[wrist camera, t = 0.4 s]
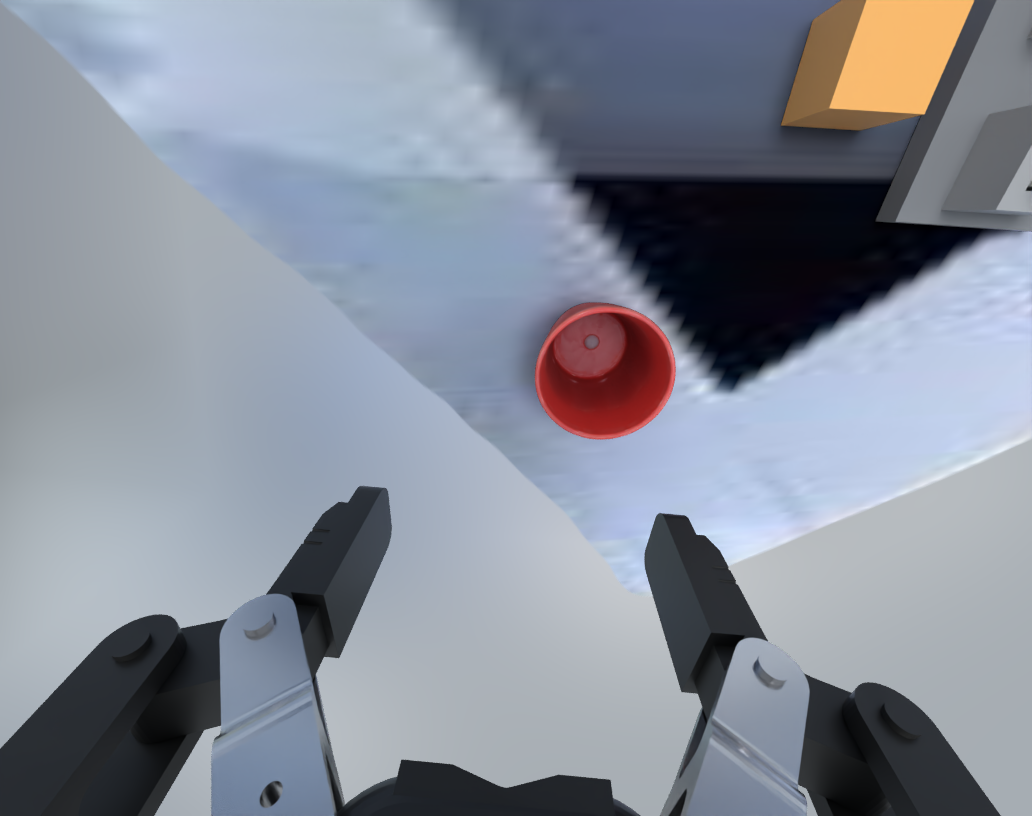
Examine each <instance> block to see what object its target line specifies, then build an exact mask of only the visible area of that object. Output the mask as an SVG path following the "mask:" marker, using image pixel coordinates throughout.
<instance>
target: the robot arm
mask: <svg viewBox="0 0 1032 816" xmlns="http://www.w3.org/2000/svg"><path fill="white" fill-rule="evenodd" d="M391 530H392V525H391V515H390V506H389V497H388V491H387V489H386V488H379V487H368V486H360V487H358V488H357V490H356V491H355V493H354V494H353V496H352V498H351V499H350V501H349V502H348V503H344V502H338V503H337V504H335V505H334V506H333V507H331V508H330V509H329V510H328V511H326V512H325V513H324V514H322V516H321V517H320V519H319V520H318V522H317V523H316V524H315V526H314V527H313V530H312V532H310V533H309V534H308V536H307V537H306V539H305V540H304V544H301V546H300V547H299V549H298V550H297V551H296V553H295V554H294V556H293V557H292V559H291V560H290V562H289V563H288V564H287V566H286V567H285V569H284V570H283V571H282V573H281V574H280V576H279V577H278V579H277V580H276V581H275V583H274V584H273V586H272V587H271V589H270V590H269V591H268V593H267V594H266V595H263V596H260V597H257V598H255V599H253V600H251V601H249V602H247V603H245V604H244V605H242V606H241V607H240V608H238V609H237V610H236V611H235V612H234V613H233V614H232V615H231V616H230V617H229V618H228V619H225V620H221V621H216V622H211V623H206V624H201V625H196V626H191V627H186V628H181V629H180V627H179V626H178V623H177V622H176V621H175V619H174V618H172V617H171V616H168V615H151V616H147V617H143V618H140V619H137V620H134V621H132V622H130V623H128V624H126V625H124V626H122V627H121V628H119V629H117V630H116V631H114V632H113V633H111V634H110V635H109V636H108V637H106V638H105V639H104V640H103V641H102V642H101V643H100V644H99V645H98V646H97V647H96V648H95V649H94V650H93V651H92V652H91V653H90V654H89V655H88V656H87V657H86V658H85V659H84V660H83V661H82V663H81V664H80V665H79V666H78V667H77V668H76V669H75V670H74V671H73V672H72V673H71V674H70V675H69V676H68V677H67V678H66V680H65V681H64V682H63V683H62V684H61V685H60V686H59V687H58V688H57V689H56V690H55V691H54V692H53V693H52V694H51V695H50V696H49V698H48V699H47V700H46V701H45V702H44V703H43V704H42V705H41V706H40V707H39V708H38V709H37V710H36V711H35V712H34V714H33V715H32V716H31V717H30V718H29V719H28V720H27V721H26V722H25V723H24V724H23V725H22V726H21V727H20V728H19V729H18V731H17V732H16V733H15V734H14V735H13V736H12V737H11V738H10V739H9V740H8V741H7V742H6V743H5V744H4V746H3V747H2V748H1V749H0V816H154V815H155V813H156V812H157V810H158V808H159V806H160V805H161V803H162V801H163V800H164V798H165V796H166V794H167V793H168V791H169V789H170V788H171V786H172V784H173V783H174V781H175V779H176V777H177V776H178V774H179V772H180V770H181V769H182V767H183V765H184V764H185V762H186V760H187V759H188V757H189V755H190V753H191V752H192V750H193V748H194V747H195V745H196V743H197V741H198V740H199V738H200V736H201V735H202V733H203V731H204V730H206V729H209V728H213V727H217V726H221V733H220V735H219V736H217V737H216V738H215V739H214V742H213V746H212V756H211V783H212V784H211V806H212V807H211V816H640V815H639V814H637V813H636V812H635V811H634V810H632V809H631V808H629V807H628V806H626V805H625V804H623V803H621V802H620V801H618V800H616V799H614V798H613V796H612V788H611V781H610V780H606V779H597V778H586V777H575V776H565V775H556V776H552V777H549V778H545V779H541V780H537V781H533V782H529V783H525V784H521V785H517V786H514V787H509V788H504V787H500V786H497V785H495V784H493V783H491V782H489V781H487V780H485V779H482V778H480V777H478V776H476V775H474V774H472V773H470V772H467V771H465V770H463V769H461V768H459V767H457V766H455V765H451V764H442V763H432V762H421V761H410V760H401V764H400V768H399V772H398V776H397V777H394V778H390V779H387V780H385V781H383V782H380V783H378V784H376V785H374V786H372V787H370V788H368V789H366V790H365V791H363V792H361V793H360V794H359V795H357V796H356V797H354V798H353V799H352V800H350V801H349V802H348V803H347V804H345V802H344V797H343V793H342V789H341V784H340V780H339V776H338V772H337V768H336V764H335V760H334V756H333V751H332V747H331V742H330V738H329V734H328V729H327V723H326V719H325V715H324V709H323V705H322V700H321V695H320V691H319V686H318V681H317V677H316V672H317V670H318V668H319V666H320V664H321V662H322V660H323V658H324V657H334V658H339V657H340V655H341V653H342V650H343V648H344V646H345V643H346V641H347V639H348V637H349V635H350V632H351V630H352V628H353V625H354V623H355V621H356V618H357V616H358V614H359V612H360V609H361V607H362V605H363V603H364V600H365V598H366V596H367V594H368V591H369V589H370V587H371V585H372V582H373V580H374V578H375V575H376V573H377V571H378V569H379V567H380V564H381V562H382V560H383V557H384V555H385V553H386V551H387V548H388V546H389V542H390V538H391ZM645 570H646V574H647V577H648V581H649V584H650V587H651V591H652V594H653V598H654V601H655V604H656V608H657V611H658V614H659V618H660V621H661V624H662V628H663V631H664V634H665V638H666V641H667V645H668V648H669V651H670V655H671V658H672V661H673V665H674V668H675V672H676V675H677V678H678V682H679V685H680V688H681V691H682V692H687V693H697V694H698V695H699V698H700V701H701V704H702V708H701V710H700V712H699V715H698V717H697V720H696V723H695V726H694V729H693V732H692V735H691V737H690V740H689V743H688V745H687V748H686V751H685V754H684V756H683V759H682V762H681V765H680V768H679V770H678V773H677V776H676V779H675V782H674V784H673V787H672V789H671V791H670V794H669V796H668V798H667V800H666V803H665V805H664V807H663V809H662V812H661V814H660V816H807V801H806V798H805V796H804V794H802V793H801V792H800V791H799V790H798V785H800V786H802V787H804V788H806V789H807V791H808V793H809V795H810V798H811V800H812V803H813V805H814V807H815V810H816V812H817V814H818V816H1000V814H999V813H998V811H997V810H996V809H995V807H994V806H993V804H992V803H991V802H990V800H989V799H988V797H987V796H986V795H985V793H984V792H983V791H982V789H981V788H980V786H979V785H978V784H977V782H976V781H975V780H974V778H973V777H972V775H971V774H970V772H969V771H968V770H967V768H966V767H965V766H964V764H963V763H962V761H961V760H960V759H959V757H958V756H957V754H956V753H955V752H954V750H953V749H952V747H951V746H950V745H949V743H948V742H947V741H946V739H945V738H944V736H943V735H942V734H941V732H940V731H939V729H938V728H937V727H936V725H935V724H934V723H933V722H932V721H931V719H929V717H928V716H927V715H926V714H925V713H924V712H923V711H922V710H921V709H920V708H919V707H917V706H916V705H915V704H914V703H913V702H911V701H910V700H909V699H907V698H906V697H905V696H903V695H901V694H900V693H898V692H896V691H895V690H893V689H891V688H889V687H886V686H883V685H881V684H877V683H869V682H868V683H862V684H860V685H859V686H858V687H857V688H856V689H855V690H854V691H853V692H852V693H850V692H848V691H845V690H843V689H840V688H838V687H835V686H833V685H830V684H827V683H825V682H822V681H820V680H817V679H815V678H812V677H810V676H808V675H806V674H804V673H803V671H802V670H801V668H800V667H799V665H798V664H797V663H796V662H795V661H794V660H793V659H792V658H791V657H790V656H789V655H788V654H787V653H786V652H785V651H783V650H782V649H780V648H779V647H777V646H776V645H774V644H772V643H770V642H768V640H767V639H766V637H765V635H764V633H763V631H762V629H761V628H760V626H759V624H758V622H757V620H756V618H755V616H754V615H753V612H752V611H751V609H750V607H749V605H748V603H747V601H746V599H745V597H744V595H743V594H742V592H741V590H740V588H739V586H738V585H737V584H736V580H735V579H734V577H733V575H732V573H731V571H730V570H728V565H727V563H726V562H725V560H724V558H723V556H722V554H721V552H720V550H719V549H718V548H717V547H716V546H715V545H714V544H713V543H712V542H711V541H710V540H709V539H708V538H707V537H706V536H704V535H696V533H695V531H694V529H693V527H692V525H691V523H690V521H689V519H688V518H687V517H686V516H684V515H673V514H662V513H659V514H658V515H657V516H656V518H655V521H654V525H653V528H652V531H651V534H650V537H649V540H648V544H647V547H646V550H645Z"/></svg>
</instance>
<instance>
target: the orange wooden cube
mask: <svg viewBox="0 0 1032 816" xmlns="http://www.w3.org/2000/svg"><path fill="white" fill-rule="evenodd" d="M973 3H974V0H841V1H840V2H838V3H837V4H835V5H834V6H832V7H831V8H830V9H828V10H827V11H825V12H824V13H822V14H821V15H820V16H818V17H817V18H815V19H814V20H813V22H812V25H811V28H810V31H809V35H808V38H807V41H806V45H805V48H804V51H803V54H802V58H801V61H800V64H799V68H798V71H797V74H796V77H795V81H794V84H793V87H792V91H791V94H790V97H789V100H788V104H787V107H786V110H785V113H784V117H783V120H782V123H781V126H797V127H812V128H828V129H844V130H864V129H868V128H872V127H876V126H880V125H884V124H888V123H892V122H896V121H900V120H904V119H908V118H912V117H916V116H920V115H924V114H925V112H926V110H927V107H928V105H929V103H930V101H931V98H932V96H933V94H934V91H935V89H936V87H937V85H938V82H939V80H940V78H941V75H942V73H943V71H944V69H945V66H946V64H947V62H948V60H949V57H950V55H951V53H952V50H953V48H954V46H955V44H956V41H957V39H958V37H959V34H960V32H961V30H962V28H963V25H964V23H965V21H966V18H967V16H968V14H969V12H970V9H971V7H972V5H973Z"/></svg>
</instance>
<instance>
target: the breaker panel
mask: <svg viewBox="0 0 1032 816" xmlns="http://www.w3.org/2000/svg"><path fill="white" fill-rule="evenodd" d="M1031 180H1032V0H974V3H973V5H972V7H971V9H970V12H969V14H968V16H967V18H966V21H965V23H964V25H963V28H962V30H961V32H960V34H959V37H958V39H957V41H956V44H955V46H954V48H953V50H952V53H951V55H950V57H949V60H948V62H947V64H946V66H945V69H944V71H943V73H942V75H941V78H940V80H939V82H938V85H937V87H936V89H935V91H934V94H933V96H932V98H931V101H930V103H929V105H928V107H927V110H926V112H925V114H924V115H921V118H920V120H919V122H918V124H917V127H916V129H915V131H914V134H913V136H912V138H911V141H910V143H909V145H908V147H907V150H906V152H905V154H904V157H903V159H902V161H901V163H900V166H899V168H898V170H897V173H896V175H895V177H894V180H893V182H892V184H891V186H890V189H889V191H888V193H887V196H886V198H885V200H884V202H883V205H882V207H881V209H880V212H879V214H878V216H877V218H876V221H879V222H894V223H908V224H923V225H938V226H953V227H968V228H983V229H997V230H1012V231H1031V232H1032V188H1027V187H1028V185H1029V184H1030V182H1031Z"/></svg>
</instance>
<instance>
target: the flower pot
mask: <svg viewBox="0 0 1032 816" xmlns="http://www.w3.org/2000/svg"><path fill="white" fill-rule="evenodd" d="M675 372H676V367H675V358H674V354H673V351H672V348H671V345H670V343H669V341H668V339H667V337H666V336H665V334H664V333H663V332H662V330H661V329H660V328H659V327H658V326H657V325H656V324H655V323H654V322H653V321H652V320H650V319H649V318H647V317H646V316H644V315H643V314H641V313H639V312H637V311H634V310H632V309H629V308H626V307H622V306H618V305H614V304H609V303H583V304H580V305H577V306H574V307H572V308H570V309H569V310H567V311H566V312H565V313H564V314H562V315H561V316H560V318H559V319H558V320H557V321H556V323H555V324H554V325H553V327H552V328H551V330H550V332H549V334H548V336H547V338H546V340H545V341H544V343H543V345H542V347H541V350H540V352H539V355H538V358H537V362H536V367H535V386H536V391H537V395H538V398H539V401H540V403H541V405H542V407H543V408H544V410H545V411H546V413H547V414H548V415H549V417H550V418H551V419H552V420H553V421H554V422H555V423H556V424H558V425H559V426H560V427H562V428H563V429H565V430H566V431H568V432H570V433H572V434H575V435H578V436H581V437H585V438H589V439H612V438H617V437H621V436H625V435H628V434H630V433H633V432H635V431H637V430H639V429H640V428H642V427H643V426H645V425H646V424H648V423H649V422H650V421H652V420H653V419H654V418H655V417H656V416H657V415H658V414H659V413H660V411H661V410H662V409H663V407H664V406H665V404H666V403H667V401H668V399H669V397H670V395H671V392H672V389H673V386H674V381H675Z"/></svg>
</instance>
